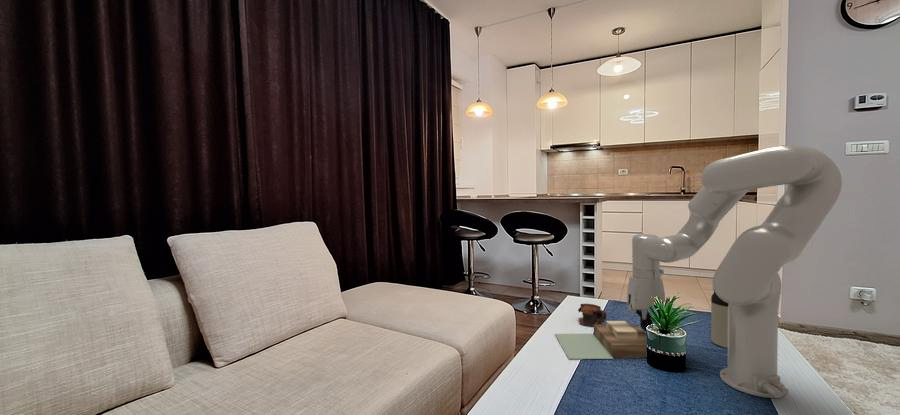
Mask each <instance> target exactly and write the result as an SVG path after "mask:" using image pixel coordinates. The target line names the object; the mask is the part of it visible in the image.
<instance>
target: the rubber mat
mask: <svg viewBox="0 0 900 415" xmlns="http://www.w3.org/2000/svg"><path fill="white" fill-rule="evenodd" d="M554 337H556V339H557V342H558V343H559V346H560V347H561V349H562V350H563V352H564V353H565V356H566V357H567V359H568V360H570V361H573V360H574V361H579V360H581V361H583V359H615V358H613V357H612V356H611V355H610V354H609V352H608V351H607V350H606V349H605V348H604V346H603V345H602V344H601V343H600V342H599V340H598V339H597V338H596V337H595V336H594V332H592V333H591V332H590V333H554Z"/></svg>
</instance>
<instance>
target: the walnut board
mask: <svg viewBox="0 0 900 415" xmlns="http://www.w3.org/2000/svg"><path fill="white" fill-rule="evenodd" d="M628 324H629V325H630V326H631V327H633V328H634V329H635V330H636V331H637V336H638V340H617V339H616V338H615V337H614V336H613V335H612V334H611V333H610V332H609V331H608V330H607V328H606V323H605V324H604V323H603V324H602V323H601V324H597V323H596V324H594V327H593V334H594V336H595V337H596V338H597V339H598V340H599V342H600V343H601V344H602V345H603V346H604V348H605V349H606V350H607V351H608V352H609V354H610V355H611V356H612V357H613V358H614V359H638V358H637V357H642V358H641V359H644V358H643V357H646V348H647V344H646V333H647V332H645V331H644V330H643V329H642V328H641V326H639V325H637V324H636V323H628Z"/></svg>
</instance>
